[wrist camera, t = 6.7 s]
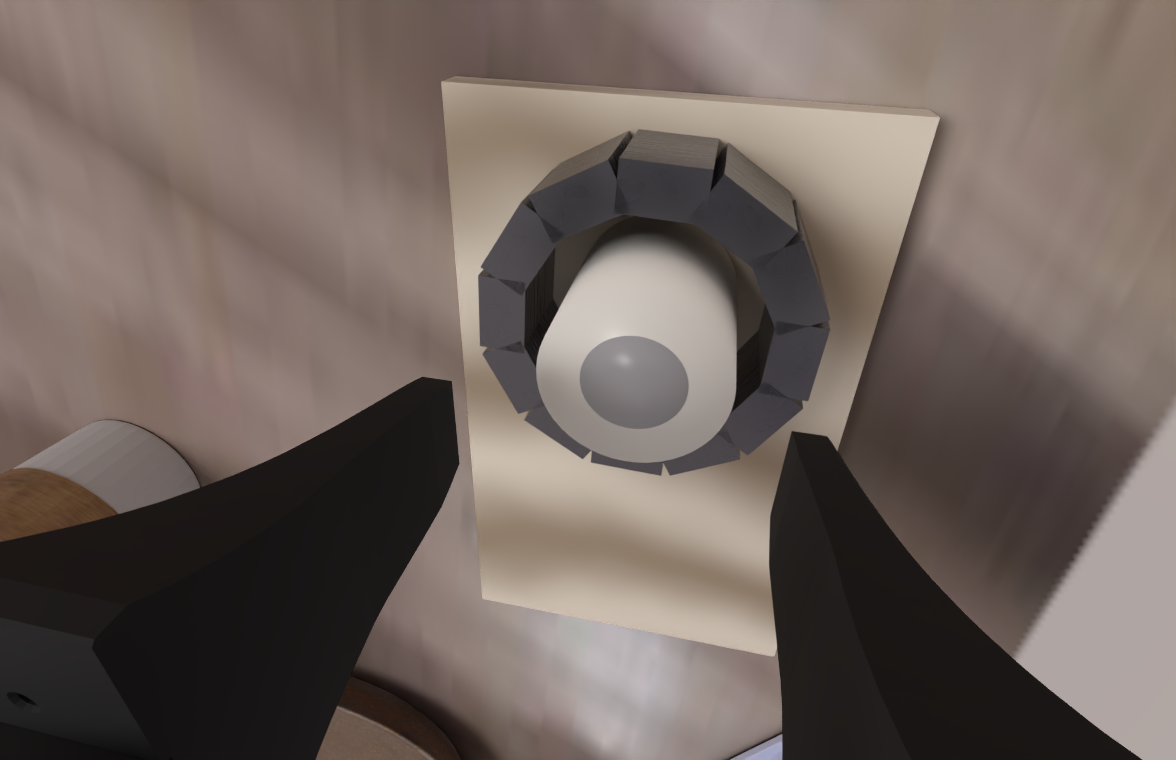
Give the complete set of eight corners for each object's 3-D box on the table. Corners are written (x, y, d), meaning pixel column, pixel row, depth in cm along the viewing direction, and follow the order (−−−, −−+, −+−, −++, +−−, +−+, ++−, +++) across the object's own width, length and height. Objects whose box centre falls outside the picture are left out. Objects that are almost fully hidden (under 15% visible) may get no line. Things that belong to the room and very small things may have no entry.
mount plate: (773, 635, 26) (774, 656, 26) (490, 580, 28) (482, 598, 27) (929, 109, 16) (940, 117, 15) (455, 76, 17) (441, 81, 17)
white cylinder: (671, 382, 20) (653, 492, 16) (553, 300, 19) (501, 392, 15) (771, 278, 18) (781, 375, 13) (640, 179, 17) (608, 250, 13)
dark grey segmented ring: (681, 455, 21) (672, 519, 19) (465, 306, 20) (425, 354, 18) (884, 267, 17) (909, 319, 14) (623, 58, 16) (600, 75, 13)
